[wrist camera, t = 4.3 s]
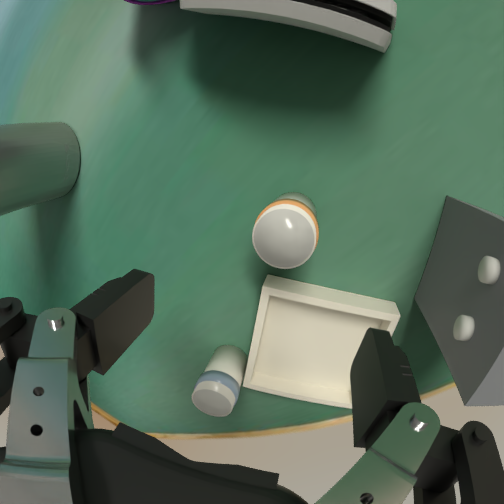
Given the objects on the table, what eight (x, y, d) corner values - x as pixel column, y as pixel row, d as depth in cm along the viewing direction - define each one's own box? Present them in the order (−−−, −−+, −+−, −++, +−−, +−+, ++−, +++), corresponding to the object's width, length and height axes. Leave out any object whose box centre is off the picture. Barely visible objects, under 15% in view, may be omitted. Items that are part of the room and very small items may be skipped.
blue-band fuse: (210, 366, 32) (189, 409, 26) (214, 339, 31) (191, 381, 24) (246, 377, 32) (230, 422, 25) (253, 350, 30) (237, 396, 24)
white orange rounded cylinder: (264, 233, 26) (245, 262, 20) (272, 185, 24) (255, 198, 18) (312, 244, 25) (310, 277, 19) (323, 196, 24) (325, 213, 17)
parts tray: (247, 371, 32) (242, 386, 29) (267, 274, 27) (262, 285, 25) (352, 393, 30) (353, 408, 27) (394, 302, 25) (400, 315, 23)
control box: (407, 296, 25) (456, 406, 12) (440, 193, 21) (540, 241, 8) (477, 311, 24) (538, 402, 11) (510, 220, 20) (604, 276, 7)
